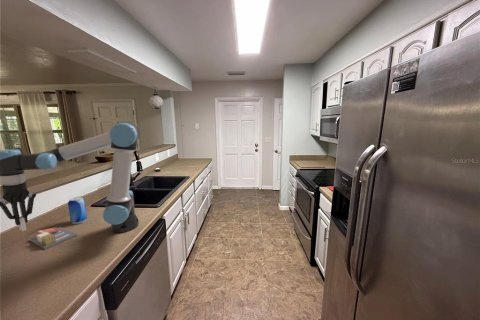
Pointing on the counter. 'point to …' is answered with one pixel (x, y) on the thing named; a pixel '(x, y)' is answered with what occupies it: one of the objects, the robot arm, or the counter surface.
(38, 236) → the ivory slider
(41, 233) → the block
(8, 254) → the counter surface
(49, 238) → the brass slider
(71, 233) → the panel
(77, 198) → the beer can
